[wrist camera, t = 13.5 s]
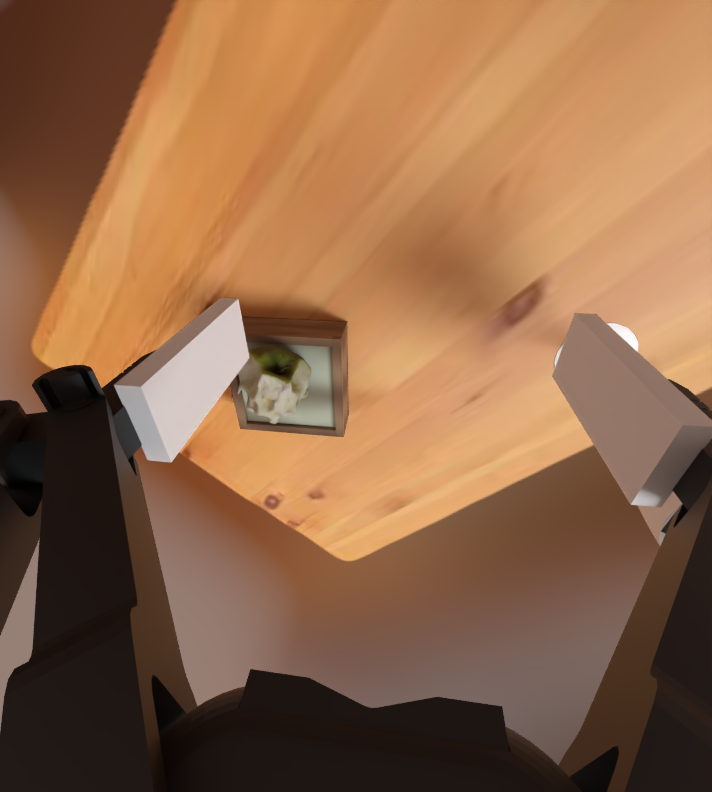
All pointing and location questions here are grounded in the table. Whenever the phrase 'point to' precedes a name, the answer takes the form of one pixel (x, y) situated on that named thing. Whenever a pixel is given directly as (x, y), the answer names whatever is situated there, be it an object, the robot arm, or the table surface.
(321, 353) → the stand
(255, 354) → the fruit
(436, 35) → the table surface
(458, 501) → the table surface
